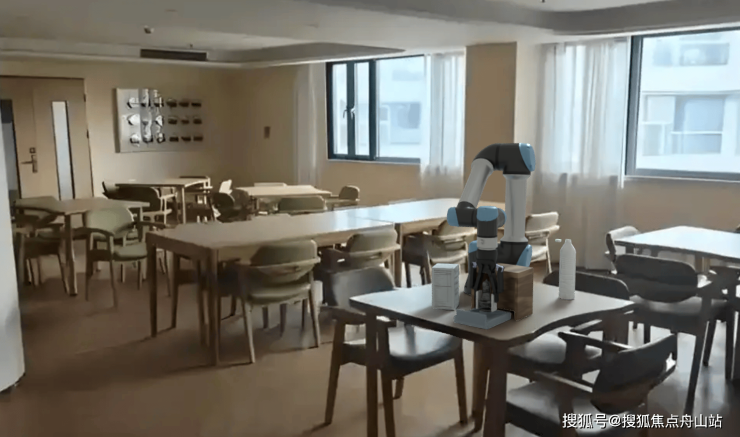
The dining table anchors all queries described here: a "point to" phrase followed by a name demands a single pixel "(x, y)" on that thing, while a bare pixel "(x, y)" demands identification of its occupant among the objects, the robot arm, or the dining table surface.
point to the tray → (481, 318)
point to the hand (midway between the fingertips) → (486, 309)
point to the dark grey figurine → (485, 298)
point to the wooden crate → (513, 290)
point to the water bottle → (567, 270)
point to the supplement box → (445, 286)
